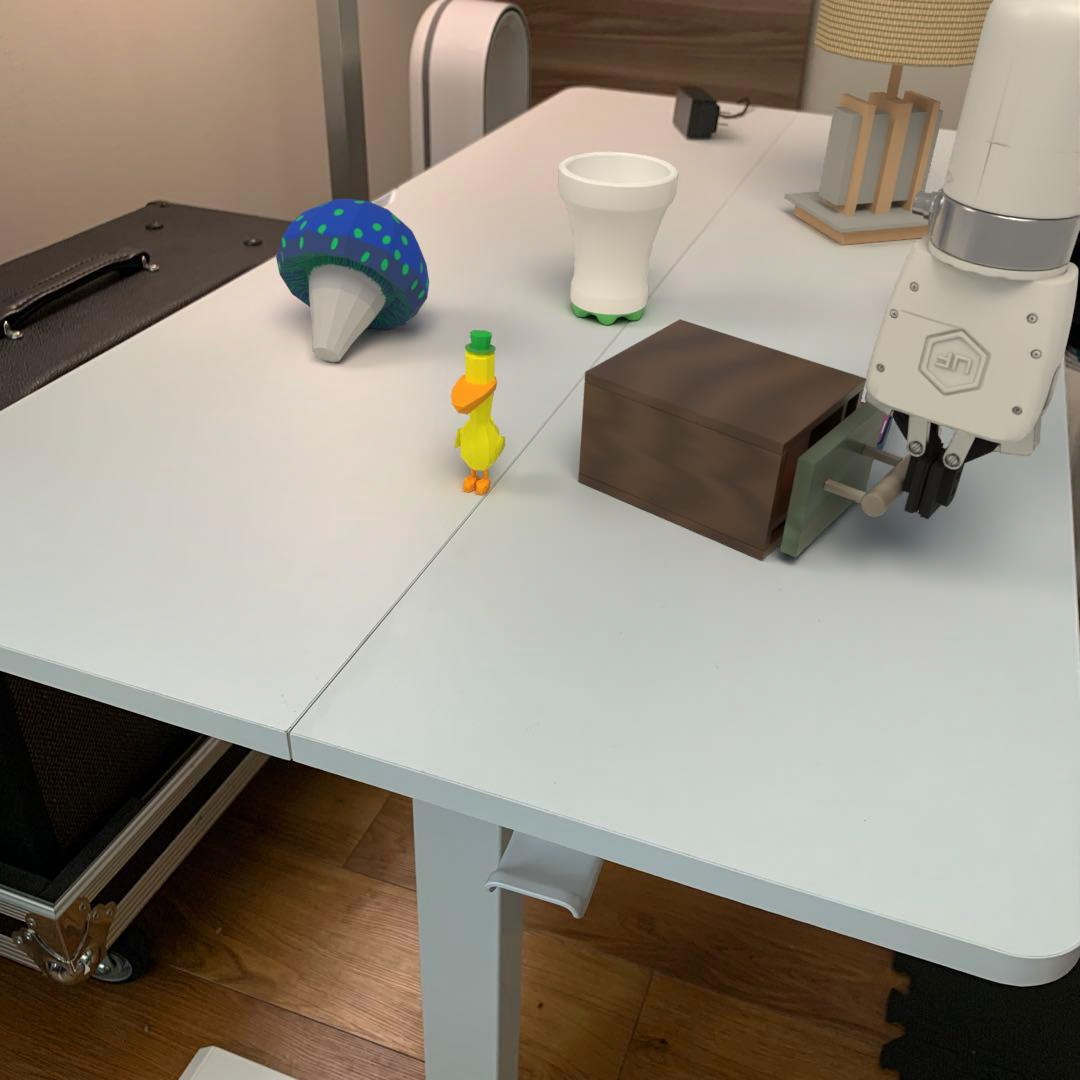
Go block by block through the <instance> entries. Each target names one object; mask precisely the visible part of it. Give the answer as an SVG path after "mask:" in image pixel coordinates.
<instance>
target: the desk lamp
mask: <svg viewBox="0 0 1080 1080" xmlns="http://www.w3.org/2000/svg"><path fill="white" fill-rule="evenodd" d="M992 2H993V0H821V1H820V5H819V6H820V7H819V12H818V19H817V25H816V31H815V37H814V46H815V47H817V48H818V49H821V50H822V51H824V52H826V53H829V54H832V55H836V56H840V57H843V58H846V59H851V60H856V61H863V62H867V63H868V62H869V63H874V64H880V65H881V64H882V65H889V66H890V65H891V69H890V73H889V79H888V83H887V88H886V91H877V92H876V91H875V92H869V95H868V99H867V100H865V99H862V98H860V97H857V96H855V95H853V94H851V93H841V94H840V99H839V103H838V104H839V105H838V106H834V107H833V110H832V116H831V122H830V128H829V134H828V139H827V144H826V151H825V156H824V160H823V161H824V162H823V167H822V172H821V179H820V182H819V183H820V184H819V190H818V191H811V192H798V193H797V192H796V193H785V194H784V195H783V198H784V200H786V201H788V202H790V203H791V204H793V205H794V206H795V207H794V208H795V209H794V216H795V217H797V218H798V219H800V220H801V221H803V222H805V223H807V225H809V226H811V227H813V228H814V229H816V230H818V231H819V232H820V233H822V234H824V235H826V236H827V237H828V238H830V239H832V240H833V241H835V242H836V243H838V244H840V245H841V246H846V245H858V244H869V243H879V242H880V243H881V242H892V241H902V240H912V239H921V238H923V237H925V236H928V235H927V234H928V230H929V226H928V220H925V219H923V216H919V215H915V214H912V205H913V202H914V199H915V197H916V195H917V193H918V192H919V191H922V192H926V187H927V184H928V180H929V174H930V170H931V167H932V162H933V157H934V154H935V149H936V144H937V140H938V136H939V132H940V128H941V124H942V120H943V119H942V118H943V115H944V110H942V109H941V104H942V101H939V100H937V99H934V98H932V97H930V96H926V95H924V94H921V93H918V92H916V91H913V90H905V91H904V92H903V93H904V94H903V96H902V97H903V98H900V97H898V94H899V90H900V84H901V79H902V75H903V70H904V67H914V68H957V67H959V68H960V67H968V66H973V64H974V60H975V56H976V52H977V48H978V44H979V40H980V36H981V32H982V28H983V25H984V21H985V18H986V15H987V11H988V9H989V7H990V5H991V3H992Z"/></svg>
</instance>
